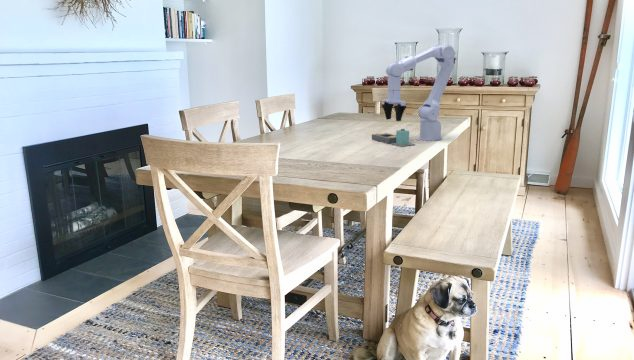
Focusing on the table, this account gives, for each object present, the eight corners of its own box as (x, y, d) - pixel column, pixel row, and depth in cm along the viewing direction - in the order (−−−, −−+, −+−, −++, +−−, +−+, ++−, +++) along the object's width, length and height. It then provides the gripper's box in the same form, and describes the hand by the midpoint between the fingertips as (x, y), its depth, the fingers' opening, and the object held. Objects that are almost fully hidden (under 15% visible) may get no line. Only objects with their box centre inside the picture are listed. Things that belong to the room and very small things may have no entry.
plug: (403, 142, 238) (403, 128, 237) (408, 144, 235) (409, 129, 233) (396, 143, 236) (396, 129, 235) (401, 145, 233) (401, 130, 231)
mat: (404, 142, 241) (404, 141, 241) (415, 145, 234) (415, 144, 234) (390, 144, 237) (390, 143, 237) (400, 146, 230) (400, 146, 230)
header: (385, 138, 254) (385, 132, 253) (403, 142, 242) (403, 136, 241) (371, 139, 250) (371, 133, 250) (388, 143, 238) (389, 137, 237)
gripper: (377, 89, 243) (377, 119, 246) (396, 91, 231) (396, 122, 234) (389, 89, 247) (389, 117, 250) (409, 90, 234) (408, 121, 237)
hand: (393, 120), depth 242 cm, fingers open, 7 cm apart
